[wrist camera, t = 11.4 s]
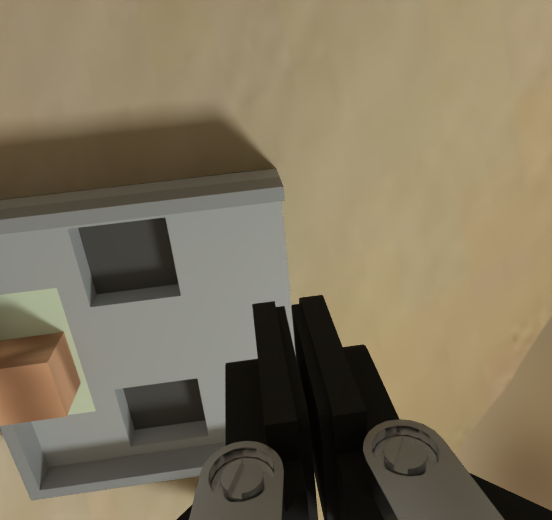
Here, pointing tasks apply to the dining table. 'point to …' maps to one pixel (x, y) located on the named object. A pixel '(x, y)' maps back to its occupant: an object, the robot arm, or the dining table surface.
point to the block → (36, 378)
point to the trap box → (139, 319)
